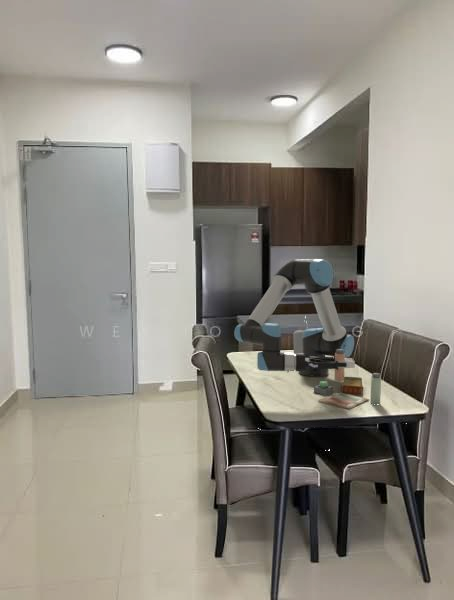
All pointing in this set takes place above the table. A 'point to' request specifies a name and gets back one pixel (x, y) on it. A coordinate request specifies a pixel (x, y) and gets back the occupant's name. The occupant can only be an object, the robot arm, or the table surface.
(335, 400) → the colouring board
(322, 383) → the button
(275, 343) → the robot arm
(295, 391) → the table surface
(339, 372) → the terracotta marker
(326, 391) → the button housing
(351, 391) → the carton
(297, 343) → the jar
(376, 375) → the sage marker
